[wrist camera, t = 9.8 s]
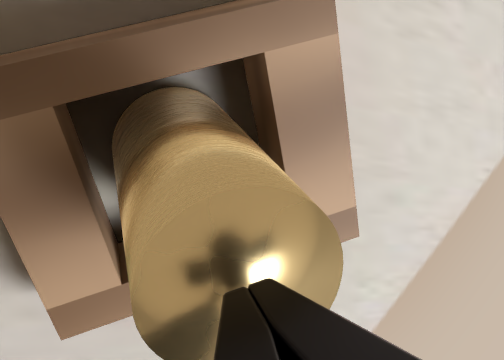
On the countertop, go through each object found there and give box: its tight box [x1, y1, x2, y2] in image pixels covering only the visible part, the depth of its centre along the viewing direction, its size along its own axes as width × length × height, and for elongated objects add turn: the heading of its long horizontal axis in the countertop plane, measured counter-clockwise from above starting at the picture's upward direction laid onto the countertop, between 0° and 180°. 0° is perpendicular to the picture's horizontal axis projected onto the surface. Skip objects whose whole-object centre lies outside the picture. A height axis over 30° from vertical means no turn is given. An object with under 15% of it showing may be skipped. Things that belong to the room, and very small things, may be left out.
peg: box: [112, 87, 343, 360], centre depth 12 cm, size 4×4×8 cm
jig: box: [0, 0, 359, 340], centre depth 15 cm, size 8×10×2 cm
